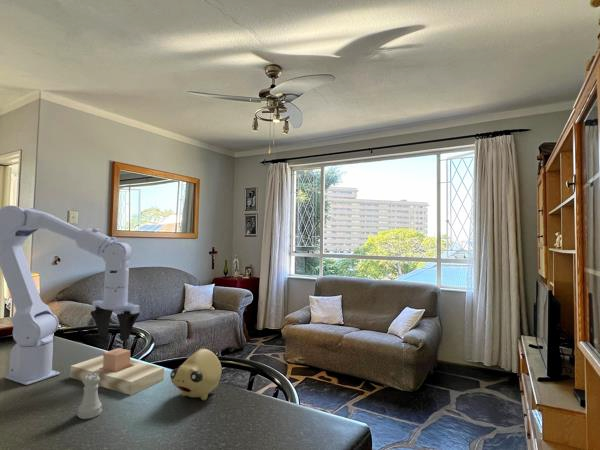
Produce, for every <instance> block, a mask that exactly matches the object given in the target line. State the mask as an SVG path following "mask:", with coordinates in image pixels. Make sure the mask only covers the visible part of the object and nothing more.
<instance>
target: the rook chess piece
mask: <svg viewBox="0 0 600 450" xmlns="http://www.w3.org/2000/svg"><path fill="white" fill-rule="evenodd" d="M99 380H100V377H99V376H98V374H96V373H93V375H91V373H90V374H88V376H87V375H85V376H84V379H83V381H82V383H83V385H84V387H83V388H82V389H83V398H82V401H81V403H80V405H79V406H78V409H77V411H78V412H77V414H76V415H77V417H78V418H79V419H81V420H88V419H89V420H90V419H93V418H96V417H98V416H99V415H100V414H101V413H102V412H103V408H102V407H103V405H102V404H103V403H102V402H101V400H100V399H99V393H98V389H99V387H100V386H98V382H99Z"/></svg>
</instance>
